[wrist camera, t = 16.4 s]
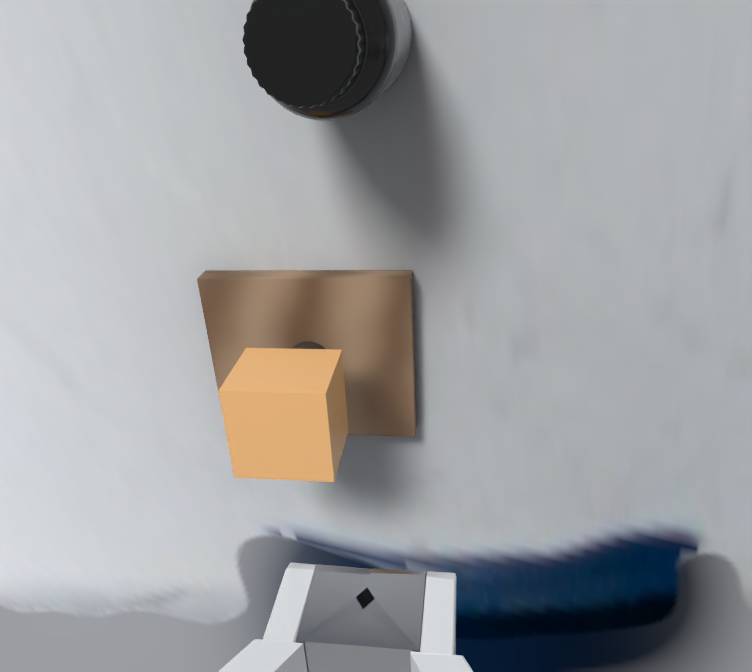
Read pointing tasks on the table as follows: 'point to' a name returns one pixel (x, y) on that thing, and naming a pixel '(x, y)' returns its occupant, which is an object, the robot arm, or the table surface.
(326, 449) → the peach wooden cube
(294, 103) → the supplement bottle
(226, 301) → the post board
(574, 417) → the table surface
